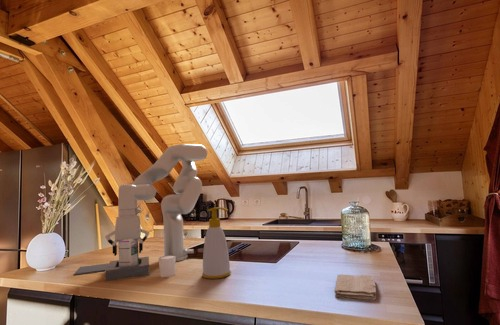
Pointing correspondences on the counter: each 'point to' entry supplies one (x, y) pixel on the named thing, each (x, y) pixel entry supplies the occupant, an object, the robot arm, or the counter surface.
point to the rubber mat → (91, 269)
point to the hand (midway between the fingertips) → (127, 253)
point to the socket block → (127, 269)
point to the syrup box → (128, 252)
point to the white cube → (167, 266)
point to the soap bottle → (215, 249)
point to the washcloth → (355, 287)
